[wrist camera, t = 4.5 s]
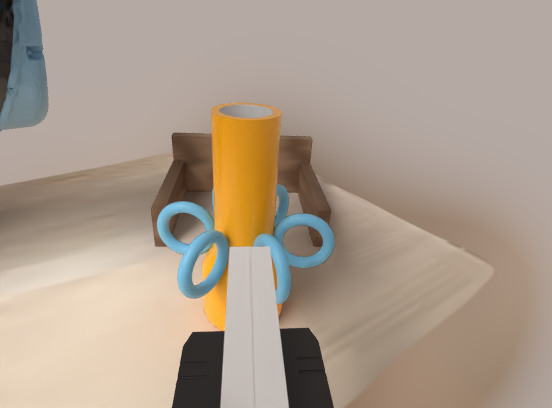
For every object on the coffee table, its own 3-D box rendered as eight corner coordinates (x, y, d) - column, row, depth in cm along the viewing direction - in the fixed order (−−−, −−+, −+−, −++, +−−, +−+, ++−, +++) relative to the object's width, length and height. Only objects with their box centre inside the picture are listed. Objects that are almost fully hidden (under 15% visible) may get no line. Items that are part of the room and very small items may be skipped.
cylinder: (156, 276, 30) (133, 93, 23) (268, 248, 34) (277, 87, 27) (199, 403, 21) (181, 157, 14) (345, 342, 25) (388, 133, 18)
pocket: (155, 246, 34) (147, 178, 31) (177, 186, 45) (173, 132, 42) (325, 246, 35) (335, 181, 32) (305, 188, 47) (310, 136, 44)
